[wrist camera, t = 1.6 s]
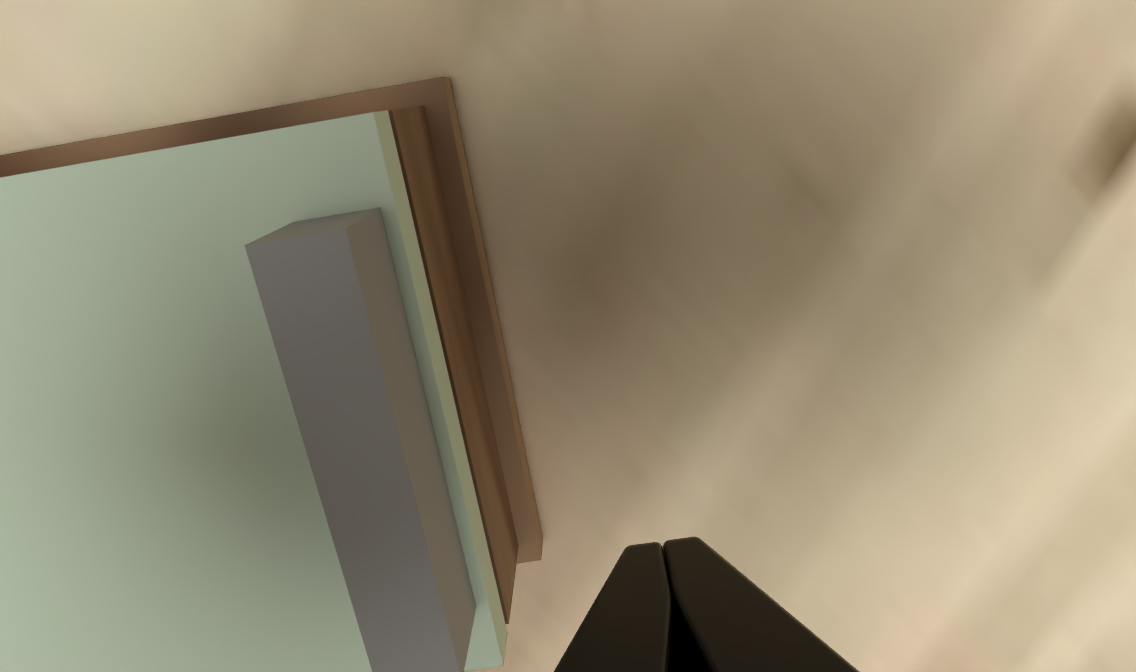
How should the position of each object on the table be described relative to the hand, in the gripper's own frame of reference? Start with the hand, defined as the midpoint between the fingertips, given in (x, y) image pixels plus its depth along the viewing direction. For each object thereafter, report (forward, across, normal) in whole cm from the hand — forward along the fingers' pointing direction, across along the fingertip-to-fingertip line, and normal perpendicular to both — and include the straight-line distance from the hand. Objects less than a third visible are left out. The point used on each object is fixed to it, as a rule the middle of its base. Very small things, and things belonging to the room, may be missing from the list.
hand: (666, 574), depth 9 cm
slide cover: (+6, +9, 0) cm, 11 cm away
